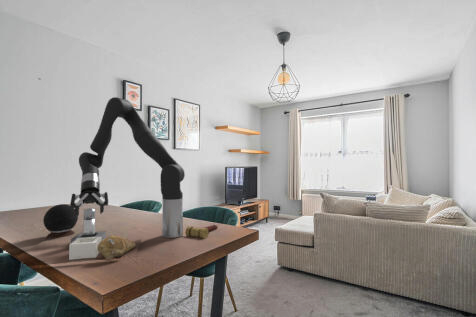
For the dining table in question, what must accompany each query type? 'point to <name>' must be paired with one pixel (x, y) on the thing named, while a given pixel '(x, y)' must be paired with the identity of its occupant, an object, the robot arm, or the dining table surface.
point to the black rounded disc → (60, 221)
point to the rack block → (84, 248)
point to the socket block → (97, 234)
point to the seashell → (114, 246)
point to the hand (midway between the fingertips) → (89, 213)
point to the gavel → (200, 231)
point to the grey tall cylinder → (89, 222)
